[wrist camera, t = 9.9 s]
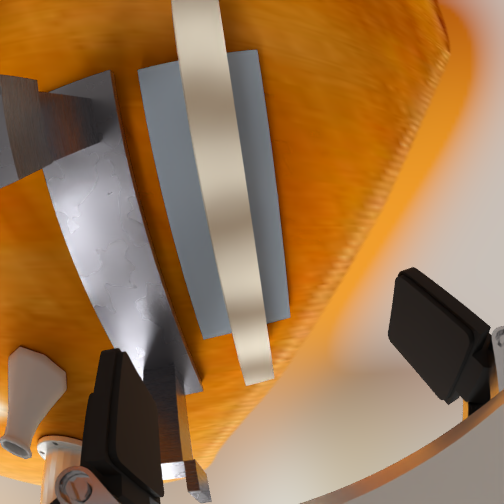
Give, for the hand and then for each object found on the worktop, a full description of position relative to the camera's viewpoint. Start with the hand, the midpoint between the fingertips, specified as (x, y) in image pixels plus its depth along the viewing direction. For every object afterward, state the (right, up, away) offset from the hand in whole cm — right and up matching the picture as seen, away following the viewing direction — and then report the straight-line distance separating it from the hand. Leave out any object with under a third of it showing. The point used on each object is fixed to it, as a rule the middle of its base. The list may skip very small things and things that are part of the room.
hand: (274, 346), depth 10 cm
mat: (-3, +6, +12) cm, 14 cm away
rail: (-3, +6, +11) cm, 13 cm away
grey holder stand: (-11, +2, +12) cm, 16 cm away
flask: (-23, -9, +15) cm, 29 cm away
